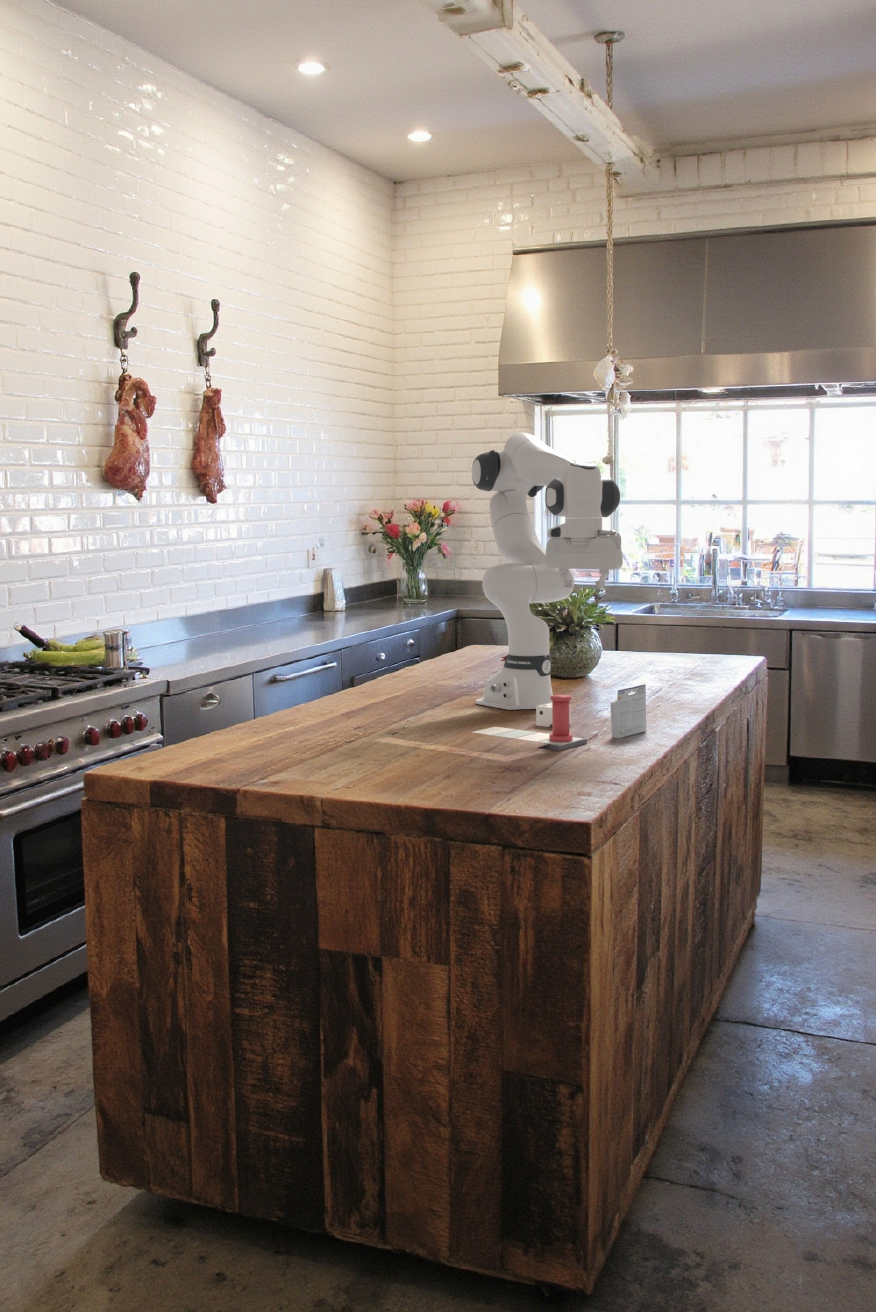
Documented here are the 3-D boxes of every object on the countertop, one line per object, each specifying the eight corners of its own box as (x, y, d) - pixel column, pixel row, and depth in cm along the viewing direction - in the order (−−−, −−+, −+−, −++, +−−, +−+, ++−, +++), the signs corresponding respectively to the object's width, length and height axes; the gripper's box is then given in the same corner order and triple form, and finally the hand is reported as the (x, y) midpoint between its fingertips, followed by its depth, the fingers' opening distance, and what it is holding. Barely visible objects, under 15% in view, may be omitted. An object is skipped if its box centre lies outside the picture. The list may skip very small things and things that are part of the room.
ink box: (638, 731, 278) (639, 683, 277) (646, 732, 276) (647, 684, 275) (609, 737, 270) (609, 688, 269) (617, 739, 268) (618, 689, 267)
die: (536, 730, 281) (536, 705, 280) (550, 726, 285) (550, 702, 285) (556, 733, 277) (556, 708, 276) (571, 729, 281) (571, 704, 281)
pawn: (544, 740, 261) (544, 696, 260) (558, 737, 265) (558, 693, 264) (563, 743, 258) (563, 698, 257) (577, 739, 262) (577, 695, 261)
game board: (468, 737, 272) (468, 732, 272) (497, 730, 281) (497, 725, 281) (558, 751, 255) (558, 745, 255) (586, 743, 264) (586, 738, 264)
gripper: (627, 529, 274) (627, 588, 275) (556, 530, 287) (557, 586, 289) (613, 530, 269) (613, 590, 271) (541, 530, 282) (542, 587, 284)
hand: (583, 587), depth 280 cm, fingers open, 8 cm apart
